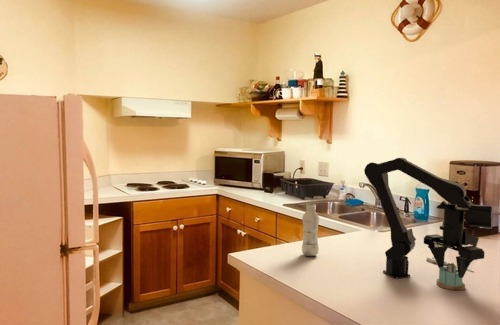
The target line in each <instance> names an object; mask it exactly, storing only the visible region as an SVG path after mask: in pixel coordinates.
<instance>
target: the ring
mask: <svg viewBox="0 0 500 325" xmlns="http://www.w3.org/2000/svg"><path fill="white" fill-rule="evenodd" d="M446 270H447V266H446V267H445V266H443V267H440V269H439V270H438V272H439V274H438V279H439V282H440V283H442V284H444V285H447V286H453V287H454V286H455V287H458V286H462V282H463V278H460V277H459V274H458V268H456V272H448V271H446Z"/></svg>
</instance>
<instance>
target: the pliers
mask: <svg viewBox="0 0 500 325" xmlns="http://www.w3.org/2000/svg"><path fill="white" fill-rule="evenodd" d="M428 261H429V262H428ZM426 262H428V263H431V262H432V263H431V264H435V265H436V264H437V262H436V260H435V258H434V256H432V257H426ZM448 263H449V262H447V261H446V260H444V267H447V264H448ZM436 266H438V264H437V265H436ZM455 266H456V268H457V264H455ZM457 269H458V268H457ZM466 271H468V272H470V273H471V272H472V273H474V272H475V271H474V270H473V269H471V268H469V267H468V268H467V270H466Z"/></svg>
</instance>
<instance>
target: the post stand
mask: <svg viewBox="0 0 500 325" xmlns="http://www.w3.org/2000/svg"><path fill="white" fill-rule="evenodd" d="M447 263H448V264H447V266H446V267H447V270H446V271H448V272H456V266H455V265H456V264H455V263H453V262H447ZM435 282H436V285H437V286H438V287H439V288H442V289H444V290H447V289H448V290H449V291H453V292H457V291H458V292H459V291H464V290H465V289H466V284H465V283H464V282H463V281H462V286H458V287H455V286H454V287H453V286H447V285H444V284H442V283H440V282H439V278H437V279H436V281H435Z"/></svg>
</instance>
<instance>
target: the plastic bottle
mask: <svg viewBox="0 0 500 325" xmlns="http://www.w3.org/2000/svg"><path fill="white" fill-rule="evenodd" d="M305 206H306V208H305V210H306V211H305V212H304V214H303V215H302V219H301V220H302V228H303V235H302V236H303V238H302V244H301V252H302V254H303V255H304V256H307V257H315V256H318V254H319V249H320V248H319V242H318V229H319V224H320V217H319V214H318V213H317V212H316V210H317V207H316V206H317V205H316V204H314V203H306V205H305Z"/></svg>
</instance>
